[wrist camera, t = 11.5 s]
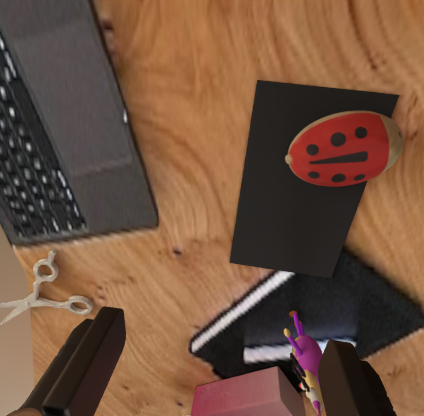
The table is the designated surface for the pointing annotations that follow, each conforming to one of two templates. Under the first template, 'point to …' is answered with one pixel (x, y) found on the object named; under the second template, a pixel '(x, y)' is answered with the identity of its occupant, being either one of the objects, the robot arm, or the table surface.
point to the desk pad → (295, 182)
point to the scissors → (35, 300)
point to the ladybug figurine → (345, 148)
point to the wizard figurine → (306, 362)
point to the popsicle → (249, 396)
